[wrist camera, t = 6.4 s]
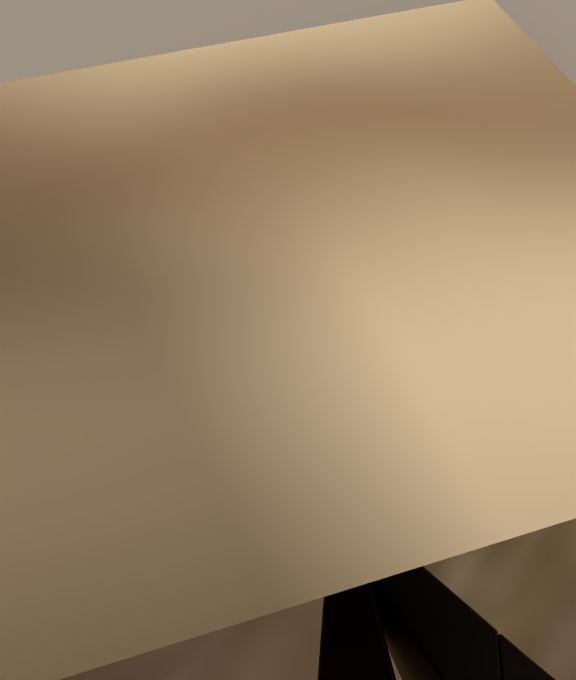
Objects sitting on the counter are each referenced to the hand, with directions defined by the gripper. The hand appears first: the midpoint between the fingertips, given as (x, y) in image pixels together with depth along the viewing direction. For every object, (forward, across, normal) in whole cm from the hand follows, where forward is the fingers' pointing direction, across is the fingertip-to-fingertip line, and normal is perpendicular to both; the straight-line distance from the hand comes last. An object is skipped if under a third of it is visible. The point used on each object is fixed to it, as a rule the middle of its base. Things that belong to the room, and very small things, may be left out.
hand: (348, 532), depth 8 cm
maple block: (+7, 0, +1) cm, 7 cm away
